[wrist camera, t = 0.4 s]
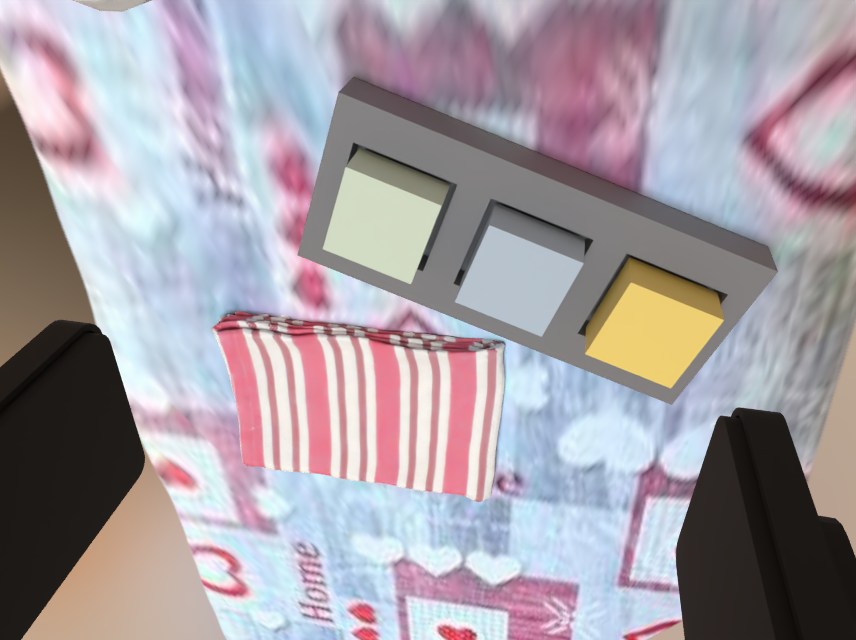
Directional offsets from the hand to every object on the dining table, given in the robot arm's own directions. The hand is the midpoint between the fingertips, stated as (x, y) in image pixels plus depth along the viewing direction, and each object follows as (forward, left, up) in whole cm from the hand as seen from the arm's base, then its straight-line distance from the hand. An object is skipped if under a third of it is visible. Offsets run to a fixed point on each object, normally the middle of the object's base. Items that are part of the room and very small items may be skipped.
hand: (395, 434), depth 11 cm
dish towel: (+34, -1, -35) cm, 49 cm away
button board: (+14, +5, -34) cm, 37 cm away
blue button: (+14, +5, -32) cm, 35 cm away
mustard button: (+14, +14, -32) cm, 37 cm away
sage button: (+14, -4, -32) cm, 35 cm away
